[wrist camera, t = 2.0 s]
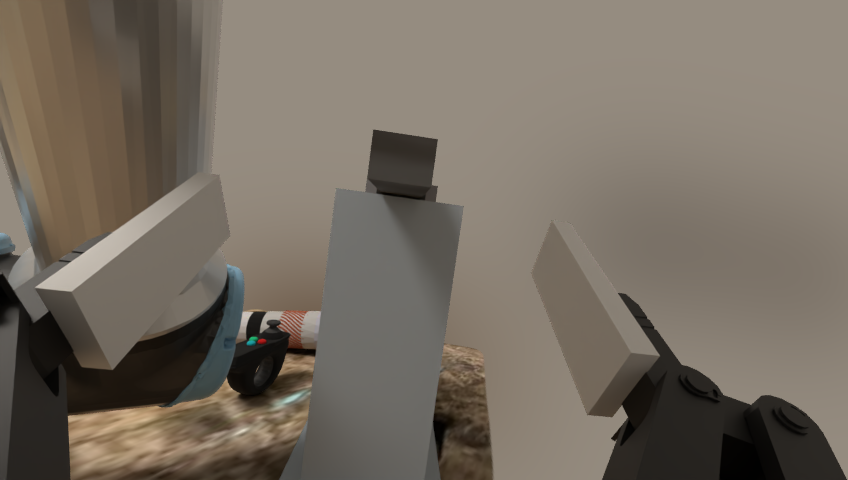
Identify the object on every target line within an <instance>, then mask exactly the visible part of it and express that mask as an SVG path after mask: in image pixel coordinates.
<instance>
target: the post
mask: <svg viewBox="0 0 848 480" xmlns="http://www.w3.org/2000/svg"><path fill="white" fill-rule="evenodd" d="M367 177H368V176H367ZM437 188H438V186H432V185H431V188H430V189H429V190H428V191H427V192H426V194H425V195H424V196H423V197H422V198H421V199H420V200H416V199H409V198H402V197H395V196H388V195H383V194H382V193H381V192H380V191H379V190H378V189H377V188H376V187H375V186H374V185H373V184H372V183H371V182H370V181H369V180H368V179H367V183H366V191H365V192H359V191H353V190H346V189H339V188H336V193H335V201H334V210H333V218H332V226H331V234H330V242H329V251H328V259H327V268H326V275H325V284H324V292H323V300H322V308H321V316H320V324H319V332H318V341H317V349H316V357H315V365H314V373H313V381H312V390H311V398H310V406H309V414H308V420H307V422H306V424H305V426H304V428H303V431H302V433H301V435H300V437H299V439H298V441H297V443H296V445H295V447H294V449H293V452H292V454H291V456H290V458H289V460H288V462H287V464H286V466H285V468H284V470H283V473H282V475H281V477H280V479H279V480H441V479H440V472H439V465H438V457H437V450H436V443H435V436H434V428H433V416H434V409H435V402H436V395H437V388H438V381H439V374H440V367H441V360H442V353H443V346H444V338H445V332H446V325H447V318H448V311H449V305H450V297H451V290H452V284H453V276H454V270H455V263H456V255H457V249H458V242H459V235H460V228H461V221H462V214H463V207H464V206H459V205H452V204H445V203H437V202H436V194H437Z"/></svg>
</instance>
